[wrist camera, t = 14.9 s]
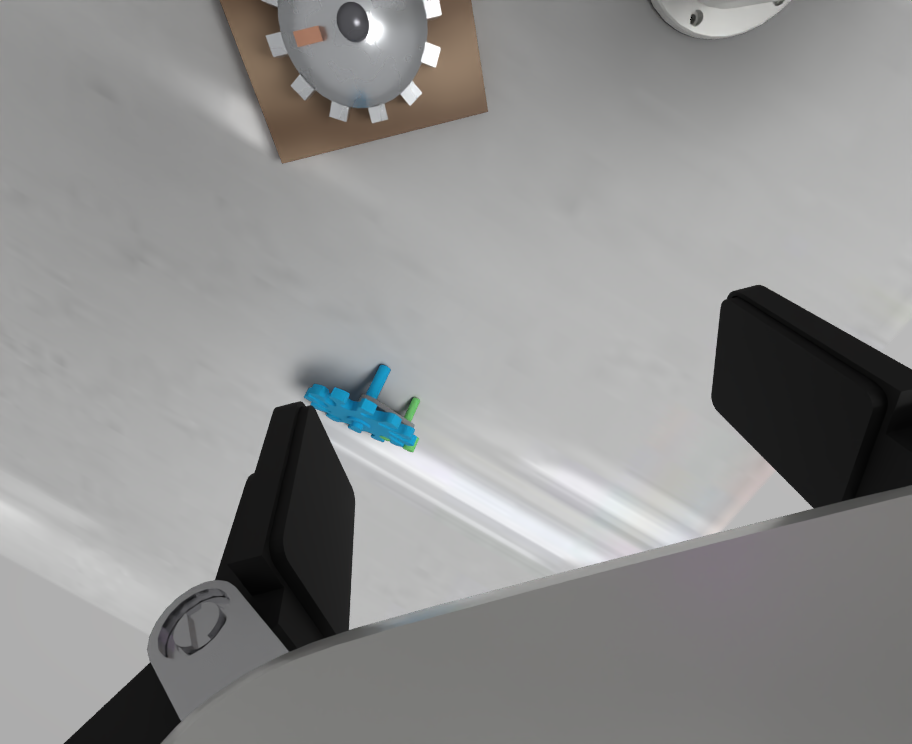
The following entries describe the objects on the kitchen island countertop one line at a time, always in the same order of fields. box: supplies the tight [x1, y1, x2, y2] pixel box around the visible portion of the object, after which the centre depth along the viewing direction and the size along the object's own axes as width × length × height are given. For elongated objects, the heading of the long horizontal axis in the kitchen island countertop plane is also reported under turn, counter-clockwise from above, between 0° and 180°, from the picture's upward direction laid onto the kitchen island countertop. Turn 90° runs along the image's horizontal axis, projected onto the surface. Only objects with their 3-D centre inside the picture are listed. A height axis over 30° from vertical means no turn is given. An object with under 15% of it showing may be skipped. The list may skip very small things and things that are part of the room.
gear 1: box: [261, 0, 442, 123], centre depth 26 cm, size 10×10×5 cm
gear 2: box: [304, 365, 420, 452], centre depth 42 cm, size 11×6×10 cm
